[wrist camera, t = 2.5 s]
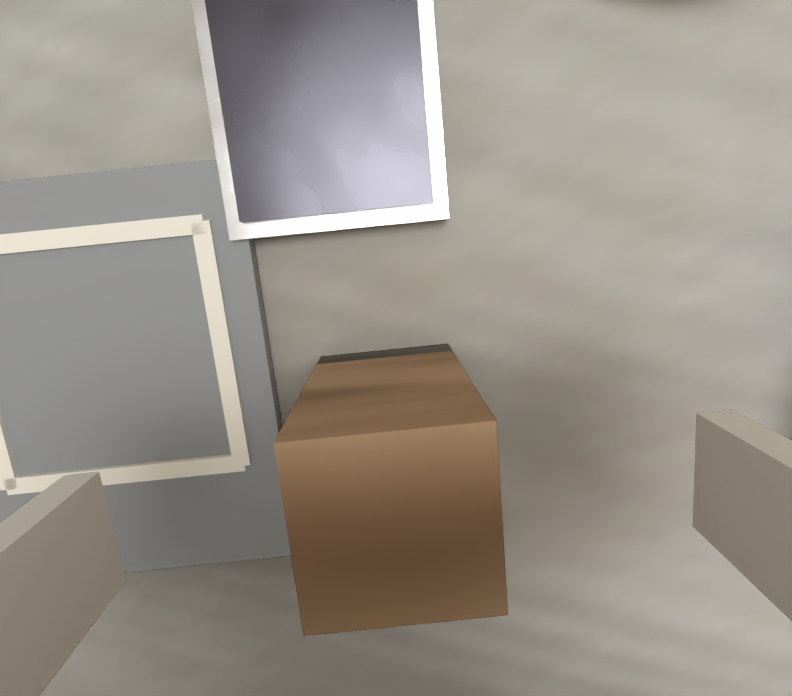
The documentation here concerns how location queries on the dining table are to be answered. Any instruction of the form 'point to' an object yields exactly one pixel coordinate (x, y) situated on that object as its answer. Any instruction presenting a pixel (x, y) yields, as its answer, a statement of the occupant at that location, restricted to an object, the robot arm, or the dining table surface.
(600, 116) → the dining table surface
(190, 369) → the board
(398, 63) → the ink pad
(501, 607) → the brown wooden block
